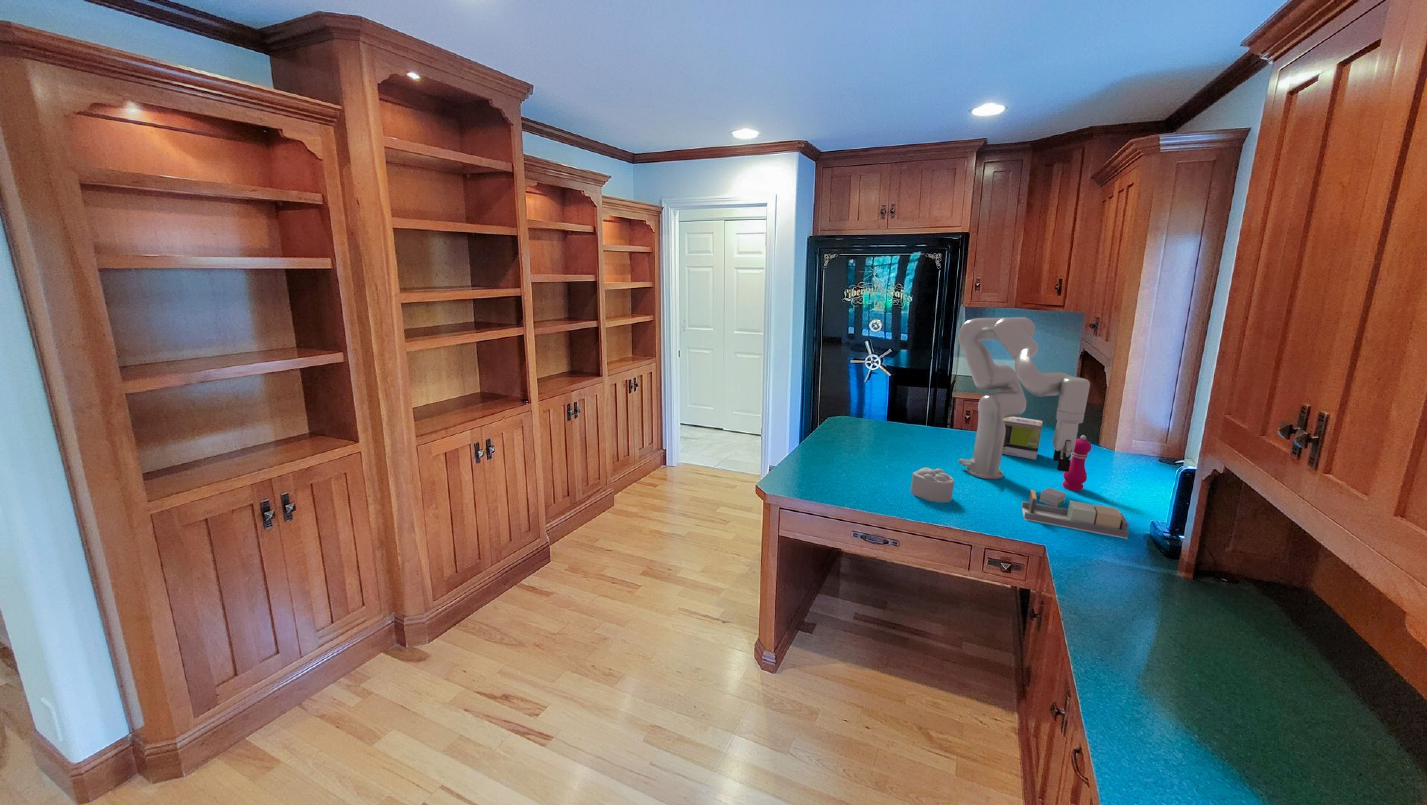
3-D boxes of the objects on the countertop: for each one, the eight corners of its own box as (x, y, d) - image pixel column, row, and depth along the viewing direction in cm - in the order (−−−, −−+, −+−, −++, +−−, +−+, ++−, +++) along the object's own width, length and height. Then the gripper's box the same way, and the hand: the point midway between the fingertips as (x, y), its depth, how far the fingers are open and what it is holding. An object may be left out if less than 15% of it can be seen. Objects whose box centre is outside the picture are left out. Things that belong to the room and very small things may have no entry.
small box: (1056, 510, 183) (1059, 496, 182) (1038, 504, 188) (1040, 490, 186) (1064, 506, 187) (1066, 492, 185) (1046, 500, 191) (1048, 486, 190)
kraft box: (1094, 529, 169) (1098, 512, 168) (1090, 520, 174) (1094, 504, 173) (1117, 533, 167) (1122, 516, 165) (1113, 524, 172) (1117, 508, 171)
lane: (1023, 522, 174) (1026, 507, 173) (1021, 508, 184) (1023, 494, 183) (1127, 541, 164) (1131, 526, 163) (1118, 525, 174) (1122, 511, 172)
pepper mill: (1087, 493, 197) (1099, 439, 192) (1065, 490, 199) (1076, 437, 193) (1079, 484, 204) (1090, 433, 199) (1057, 482, 205) (1068, 431, 200)
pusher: (1029, 516, 175) (1033, 497, 174) (1027, 508, 181) (1031, 489, 180) (1033, 517, 175) (1036, 498, 173) (1030, 508, 181) (1034, 490, 179)
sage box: (1069, 524, 172) (1073, 508, 170) (1066, 516, 177) (1069, 500, 175) (1092, 528, 169) (1096, 512, 168) (1088, 520, 175) (1092, 504, 173)
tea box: (1037, 453, 235) (1043, 420, 231) (1035, 460, 227) (1042, 426, 223) (998, 446, 243) (1003, 413, 239) (995, 453, 235) (1001, 419, 231)
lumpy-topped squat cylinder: (921, 485, 201) (924, 462, 198) (957, 497, 191) (961, 473, 189) (907, 493, 194) (910, 469, 191) (943, 505, 185) (946, 481, 182)
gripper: (1052, 408, 188) (1044, 456, 192) (1060, 421, 172) (1050, 472, 177) (1078, 410, 185) (1069, 459, 189) (1088, 424, 169) (1078, 476, 174)
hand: (1060, 465), depth 183 cm, fingers open, 9 cm apart
